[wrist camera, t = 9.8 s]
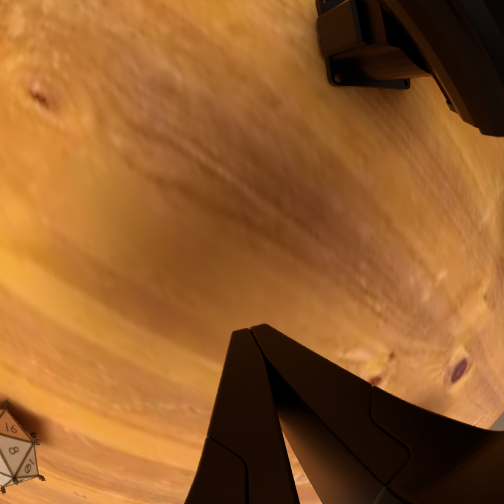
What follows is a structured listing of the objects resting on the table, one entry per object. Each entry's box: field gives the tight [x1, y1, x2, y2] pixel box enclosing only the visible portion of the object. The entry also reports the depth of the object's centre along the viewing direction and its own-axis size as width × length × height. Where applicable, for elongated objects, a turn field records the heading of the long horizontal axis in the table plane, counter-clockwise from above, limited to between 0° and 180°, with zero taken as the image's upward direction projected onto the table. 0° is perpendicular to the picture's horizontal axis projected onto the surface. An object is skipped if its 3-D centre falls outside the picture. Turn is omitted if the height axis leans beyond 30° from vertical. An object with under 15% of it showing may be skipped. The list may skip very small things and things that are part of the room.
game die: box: [0, 400, 46, 495], centre depth 17 cm, size 9×8×10 cm
